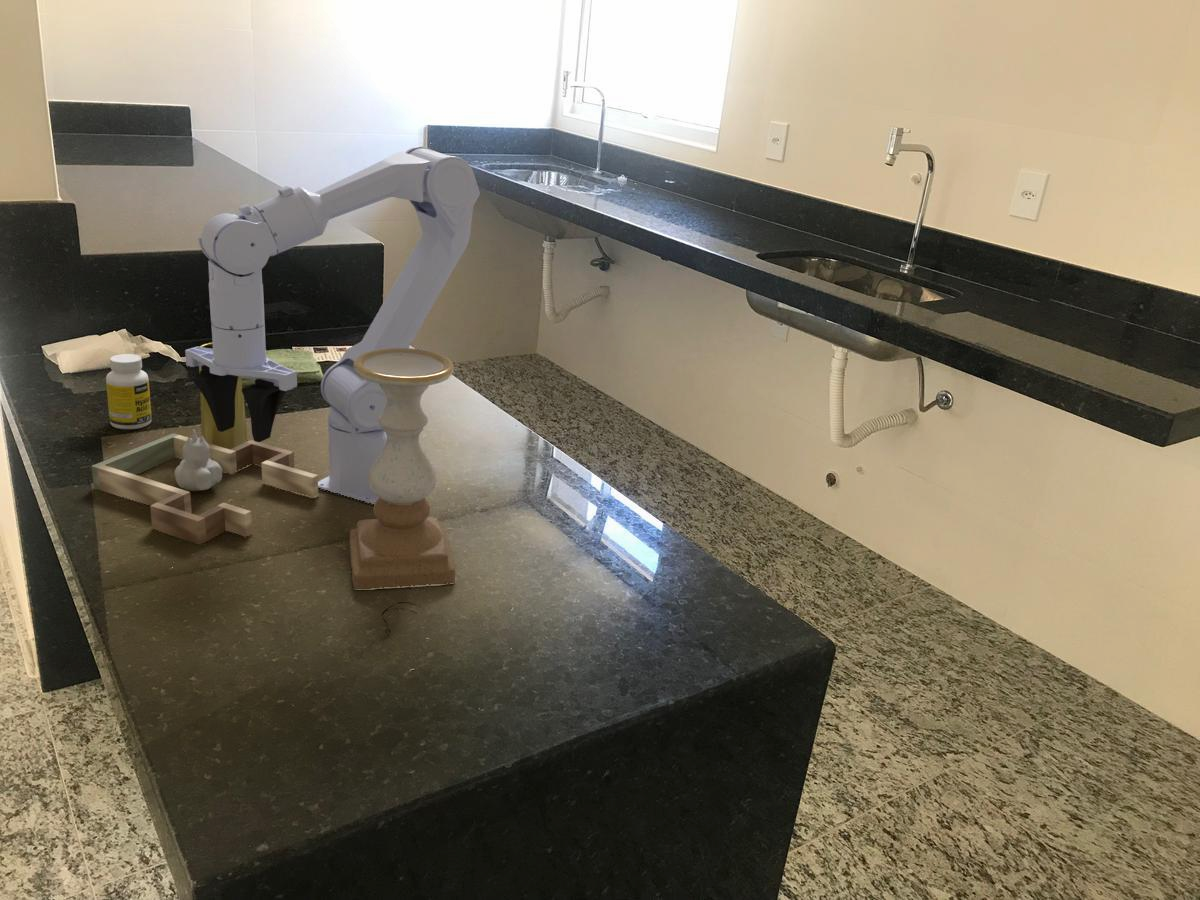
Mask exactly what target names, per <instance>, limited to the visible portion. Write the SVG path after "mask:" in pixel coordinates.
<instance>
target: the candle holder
mask: <svg viewBox="0 0 1200 900" xmlns="http://www.w3.org/2000/svg"><path fill="white" fill-rule="evenodd" d="M354 370H355V372H356V373H357V374H358V376H360V377H361V378H363V379H365V380H367V381H370V382H373V383H377V384H379V386H380V388H381V389H382V390H383V391H384V393H385V395H386V399H387V404H386V407H385V409H384V411H383V412H382V413H381V414H380V415H379V417H378V422H379V424H380V425H381V426H383V430H384V431H385V433H386V435H387V442H386V445H385V447H384V448H383V450H382V452H381V453H380V454H379V456H378V457H377V459H376V460H375V461H374V463H373V465H372V466H371V469H370V471H369V475H368V484H369V487H370V489H371V491H372V492H373V493H374V494H375V495H376V496H377V497H378V498H379V499H378V500H377V501H376V502H375V505H373V515H374V517H375V518H371V519H361V520H358V521H357V524H356V528H352V529H350V532H349V557H351V559H350V570H351V569H352V571H351V581H353V583H352V587H354V588H355V589H371V588H380V587H382V588H384V587H397V586H400V587H402V586H411V585H413V586H415V585H426V584H429V585H431V584H447V583H448V584H450V583H454V582H455V583H456V567H455V566H456V565H455V561H454V558H453V553H452V550H451V546H450V543H449V538H448V536H447V532H446V530H445V527H444V526H443V525H441V522H440V521H439V518H438V517H433V516H430V513H431V507H430V504H429V501H428V500H427V499H426V498H427V497H428V496H429V495H430V494H431V493H432V492H433V491H434V490H435V487H436V484H437V475H436V470H435V468H434V466H433V464H432V462H431V461H430V459H429V458H428V456H427V455H426V454H425V452H424V450H423V449H422V447H421V445H420V444H421V443H420V441H419V440H420V439H419V438H420V435H421V433H422V432H423V431H424V428H425V427H426V426H427V425H428V423H429V417H428V416H427V415H426V414H425V412H424V411H423V408H422V405H421V399H422V396H423V395H424V393H425V391H427V389H428V388H429V386H432V385H437V384H441V383H442V382H444V381H447V380H448V379H449V378H450V377H451V376H452V375H453V374H454V373H453V372H454V370H455V369H454V363H453V362H452V360H450V359H449V357H446V356H445V355H443V354H440V353H439V352H434V351H429V350H425V349H419V348H410V347H409V348H387V349H379V350H373V351H369V352H366V353H363V354H361V355H360V356H358V357H357V358H356V359H355V361H354ZM455 583H454V584H455ZM354 588H353V589H354Z"/></svg>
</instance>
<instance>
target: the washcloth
mask: <svg viewBox="0 0 1200 900" xmlns="http://www.w3.org/2000/svg"><path fill="white" fill-rule="evenodd" d="M266 358H268V359H270V360H272V361H274V362H276V363H278V364H280V365H282V366H284V367H286V368H288V369H291V370H295V371H297V384H299V383H300V384H302V383H311V384H312V383H319V382H320V383H321V381H322V378H323V376H324V374H323V371H322V367H321V365H320V364H319V363H318V360H317V358H316V357H314V352H313V351H310V350H306V349H290V348H288V349H287V348H281V349H279V348H278V349H270V350H267V349H266ZM253 384H255V381H254V380H250V379H246V378H243V377H242V388H245V387H247V386H250V385H253Z"/></svg>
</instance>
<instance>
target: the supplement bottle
mask: <svg viewBox="0 0 1200 900" xmlns="http://www.w3.org/2000/svg"><path fill="white" fill-rule="evenodd" d="M142 360H143V359H142V357H141V356H140V355H137V354H134V353H133V354H132V353H121V354H116V355H113V356H111V357H110V358H109V364H110V370H111V371H110V372H108V373H107V375H106V377H105V383H106V384H105V385H106V386H105V387H106V397H107V405H108V416H109V423H110V425H111V426H112V427H113V428H116V429H119V430H137V429H142V428H145V427H148V426H149V425H150V424H151V423H152V420H153V419H152V408H151V407H152V406H151V393H150V381H149V380H150V379H149V376H148V374H147V372H145V370H142V368H143V361H142Z"/></svg>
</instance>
